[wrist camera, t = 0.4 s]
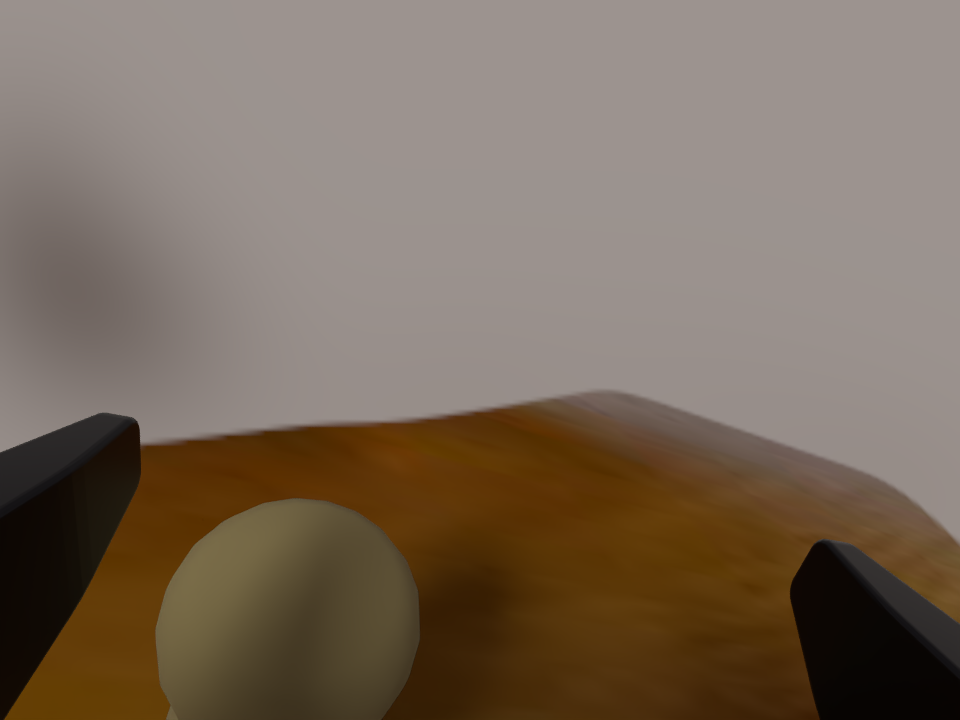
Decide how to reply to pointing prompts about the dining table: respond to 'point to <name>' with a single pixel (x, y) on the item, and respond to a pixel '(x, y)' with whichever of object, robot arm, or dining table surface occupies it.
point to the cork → (288, 618)
